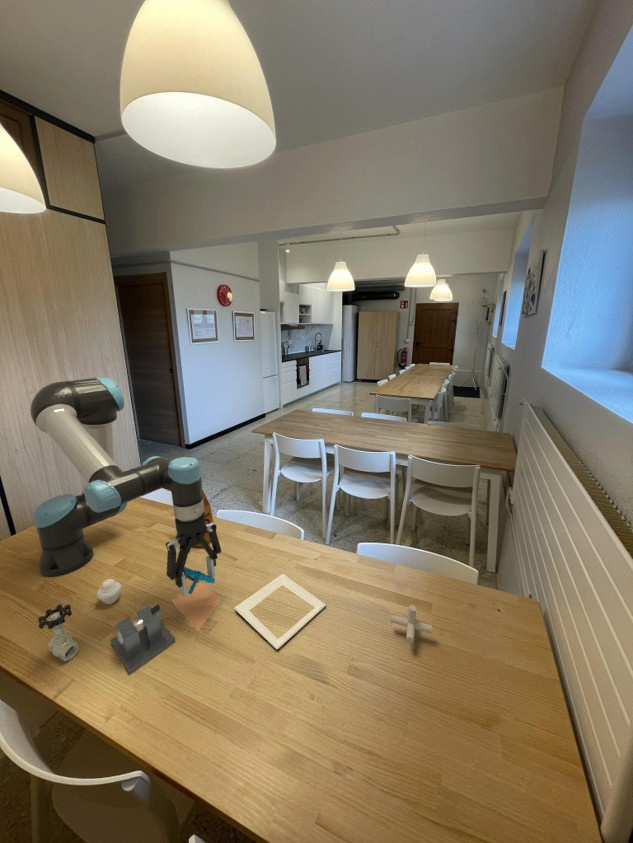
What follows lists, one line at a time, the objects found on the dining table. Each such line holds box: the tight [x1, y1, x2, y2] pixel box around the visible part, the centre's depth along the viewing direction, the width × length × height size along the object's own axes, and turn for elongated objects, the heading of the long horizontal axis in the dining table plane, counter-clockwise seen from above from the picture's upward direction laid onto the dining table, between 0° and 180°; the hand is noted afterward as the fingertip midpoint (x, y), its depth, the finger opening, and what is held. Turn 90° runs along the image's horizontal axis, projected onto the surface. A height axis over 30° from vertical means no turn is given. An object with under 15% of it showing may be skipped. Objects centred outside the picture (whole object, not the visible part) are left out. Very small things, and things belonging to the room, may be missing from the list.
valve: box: [37, 604, 80, 662], centre depth 80 cm, size 7×7×12 cm
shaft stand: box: [110, 604, 176, 675], centre depth 83 cm, size 12×11×8 cm
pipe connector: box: [390, 604, 433, 644], centre depth 84 cm, size 10×10×10 cm
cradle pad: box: [171, 582, 221, 632], centre depth 96 cm, size 15×10×1 cm, turn 49°
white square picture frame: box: [233, 573, 327, 650], centre depth 94 cm, size 19×19×2 cm
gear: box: [183, 566, 216, 594], centre depth 92 cm, size 11×6×10 cm
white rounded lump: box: [96, 578, 122, 605], centre depth 97 cm, size 6×6×7 cm
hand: (198, 585), depth 94 cm, fingers closed on gear, 8 cm apart
